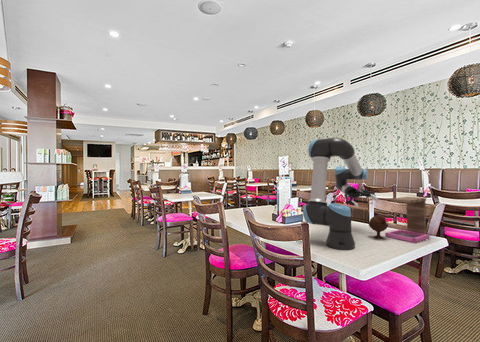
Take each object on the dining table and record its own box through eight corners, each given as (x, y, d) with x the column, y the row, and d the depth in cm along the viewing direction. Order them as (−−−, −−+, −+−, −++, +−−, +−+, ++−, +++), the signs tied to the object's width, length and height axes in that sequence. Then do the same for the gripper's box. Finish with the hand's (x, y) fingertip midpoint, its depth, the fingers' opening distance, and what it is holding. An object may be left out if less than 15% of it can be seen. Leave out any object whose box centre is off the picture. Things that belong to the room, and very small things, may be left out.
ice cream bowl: (383, 235, 156) (382, 212, 156) (392, 240, 145) (391, 215, 145) (365, 235, 157) (365, 212, 157) (373, 240, 146) (373, 215, 146)
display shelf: (410, 242, 141) (409, 200, 142) (391, 237, 151) (390, 198, 151) (428, 237, 151) (427, 198, 151) (408, 233, 161) (408, 196, 161)
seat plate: (415, 243, 139) (414, 238, 139) (385, 236, 154) (385, 232, 154) (429, 238, 147) (429, 234, 147) (400, 233, 162) (399, 229, 162)
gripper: (366, 190, 176) (386, 202, 156) (334, 200, 176) (350, 214, 155) (364, 181, 174) (385, 191, 154) (332, 191, 173) (348, 204, 153)
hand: (367, 203), depth 155 cm, fingers open, 13 cm apart
